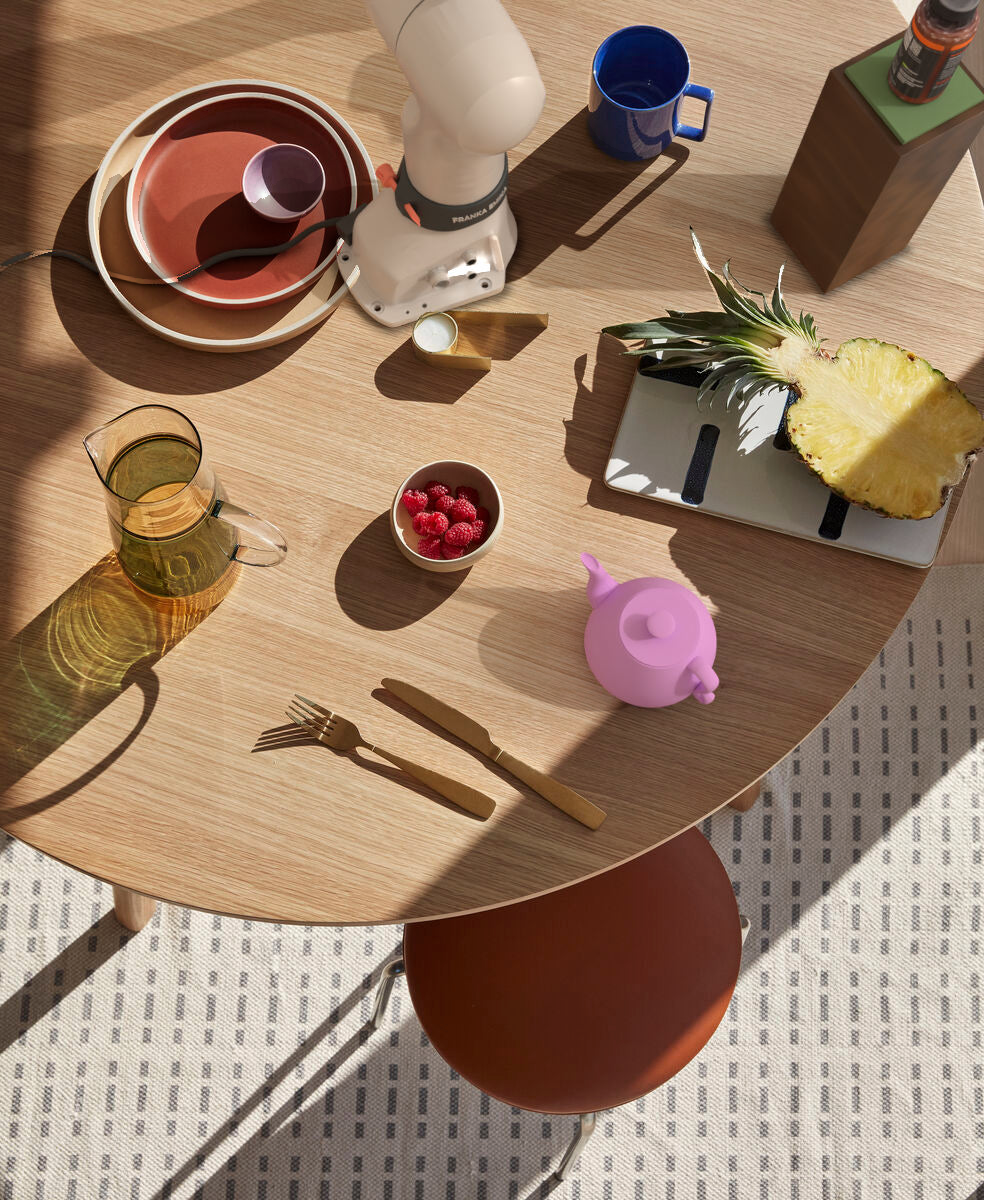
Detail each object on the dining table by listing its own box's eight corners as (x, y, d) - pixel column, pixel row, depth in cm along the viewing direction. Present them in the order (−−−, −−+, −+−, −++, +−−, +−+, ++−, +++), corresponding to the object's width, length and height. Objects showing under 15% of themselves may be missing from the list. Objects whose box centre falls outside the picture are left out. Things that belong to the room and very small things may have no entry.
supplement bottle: (953, 70, 111) (1003, -20, 100) (932, 115, 109) (980, 30, 98) (897, 48, 111) (941, -43, 101) (876, 93, 110) (917, 5, 99)
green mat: (902, 145, 109) (904, 141, 109) (843, 72, 112) (845, 68, 111) (983, 100, 111) (986, 96, 110) (923, 29, 113) (925, 25, 112)
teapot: (531, 626, 124) (535, 598, 112) (617, 541, 126) (630, 504, 114) (662, 752, 120) (680, 736, 108) (748, 661, 123) (776, 637, 111)
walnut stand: (824, 294, 134) (900, 157, 109) (768, 219, 137) (829, 69, 112) (904, 249, 136) (997, 103, 110) (847, 176, 138) (925, 18, 113)
